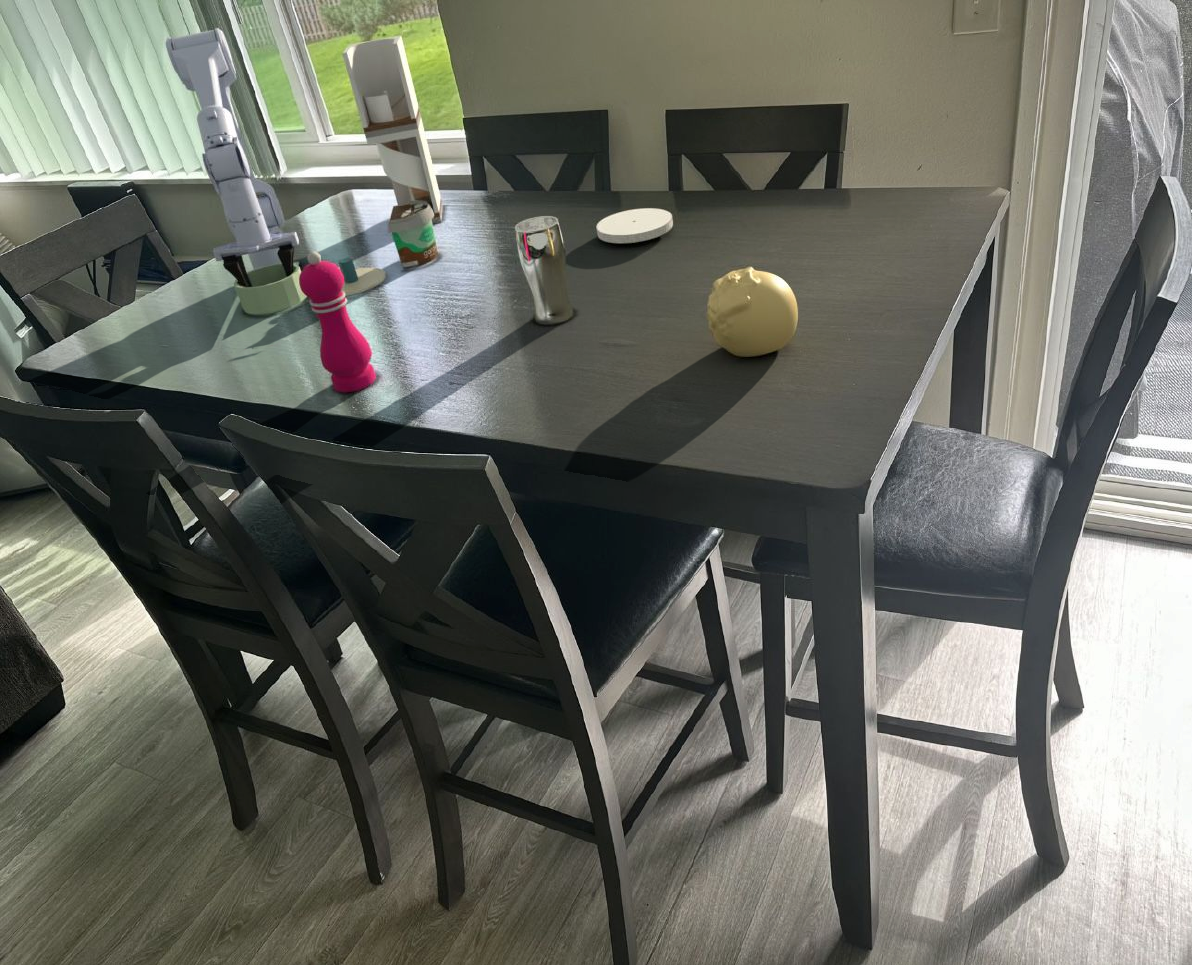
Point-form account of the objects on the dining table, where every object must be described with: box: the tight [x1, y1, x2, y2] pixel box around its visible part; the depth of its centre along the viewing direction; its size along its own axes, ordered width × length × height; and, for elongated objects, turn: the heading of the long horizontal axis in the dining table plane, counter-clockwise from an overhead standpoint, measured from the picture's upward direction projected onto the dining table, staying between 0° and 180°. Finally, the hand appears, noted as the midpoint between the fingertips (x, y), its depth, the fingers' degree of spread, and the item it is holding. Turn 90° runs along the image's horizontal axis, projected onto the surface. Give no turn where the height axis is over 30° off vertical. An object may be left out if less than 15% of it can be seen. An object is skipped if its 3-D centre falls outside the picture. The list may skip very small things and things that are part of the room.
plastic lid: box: [596, 207, 674, 244], centre depth 171 cm, size 14×14×2 cm
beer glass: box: [514, 215, 574, 326], centre depth 142 cm, size 7×7×15 cm
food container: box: [387, 200, 438, 269], centre depth 175 cm, size 12×6×10 cm, turn 168°
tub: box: [233, 263, 308, 315], centre depth 169 cm, size 12×12×6 cm
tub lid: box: [337, 257, 387, 297], centre depth 171 cm, size 13×13×5 cm
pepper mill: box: [299, 251, 377, 393], centre depth 132 cm, size 7×7×20 cm
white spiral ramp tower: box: [341, 34, 444, 225], centre depth 192 cm, size 11×11×35 cm
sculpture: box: [706, 266, 799, 358], centre depth 124 cm, size 11×12×11 cm
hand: (272, 290), depth 169 cm, fingers open, 7 cm apart
